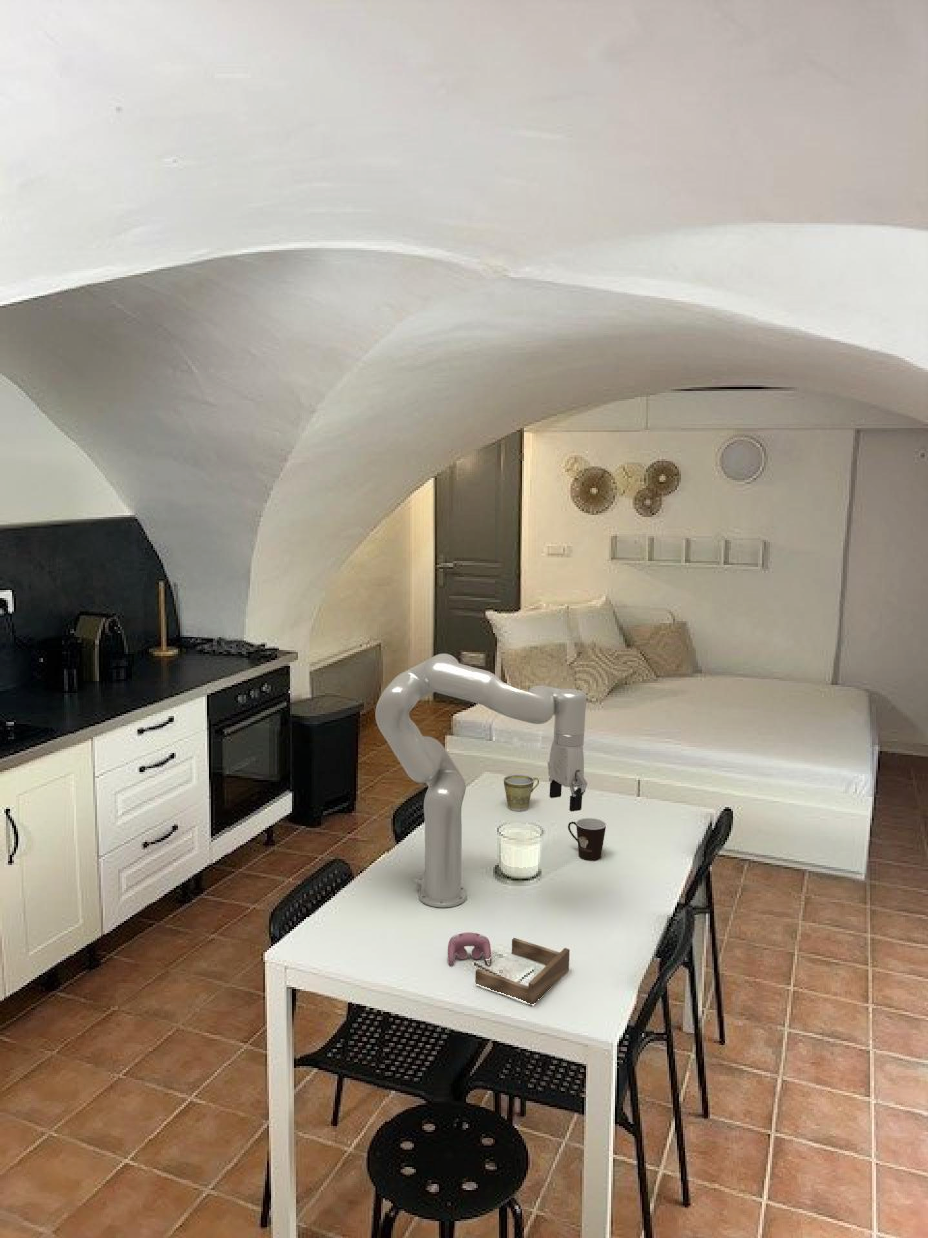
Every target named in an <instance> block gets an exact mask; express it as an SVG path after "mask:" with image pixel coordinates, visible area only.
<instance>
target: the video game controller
mask: <svg viewBox="0 0 928 1238" xmlns="http://www.w3.org/2000/svg"><path fill="white" fill-rule="evenodd" d="M465 947H473V948H472V950H471V951H470V953H471V958H473V959H474V958H475V960H478V959H480V957H482V953H483V955H484V960H485V959H489V958H490V957H491V958H492V948H491V942H490V940H489V938H488V937H487V936H485V935H484V934H481V933H477V932H461V933H458V934H457V933H456V934H455V935H453V936H451V937H450V938H449V941H448V944H447V960H448V964H449V966H451V965H452V966H453V965H454V963H455V957H456V955H457V957H458V959H461V960H464V959H466V958H467V957H468V952H467V949H466V948H465Z"/></svg>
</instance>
